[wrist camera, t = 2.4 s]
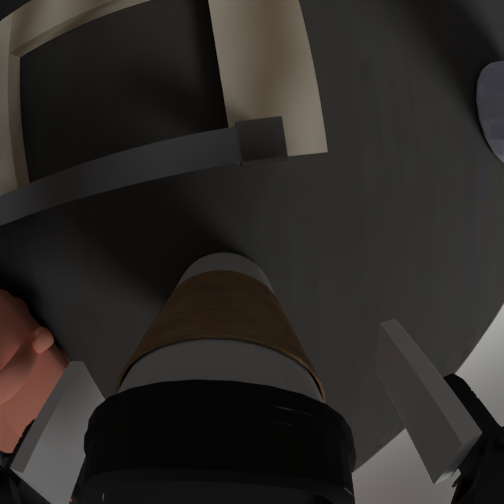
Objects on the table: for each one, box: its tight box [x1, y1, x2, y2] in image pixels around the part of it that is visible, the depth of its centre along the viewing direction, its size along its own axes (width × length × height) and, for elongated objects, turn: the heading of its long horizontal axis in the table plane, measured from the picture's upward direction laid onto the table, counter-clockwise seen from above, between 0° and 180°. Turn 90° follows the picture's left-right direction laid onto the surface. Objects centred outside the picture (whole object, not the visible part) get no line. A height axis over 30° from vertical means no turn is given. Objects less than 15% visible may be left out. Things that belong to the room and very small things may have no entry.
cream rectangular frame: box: [0, 0, 328, 226], centre depth 10 cm, size 28×16×8 cm, turn 99°
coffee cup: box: [84, 252, 356, 504], centre depth 12 cm, size 8×8×15 cm
